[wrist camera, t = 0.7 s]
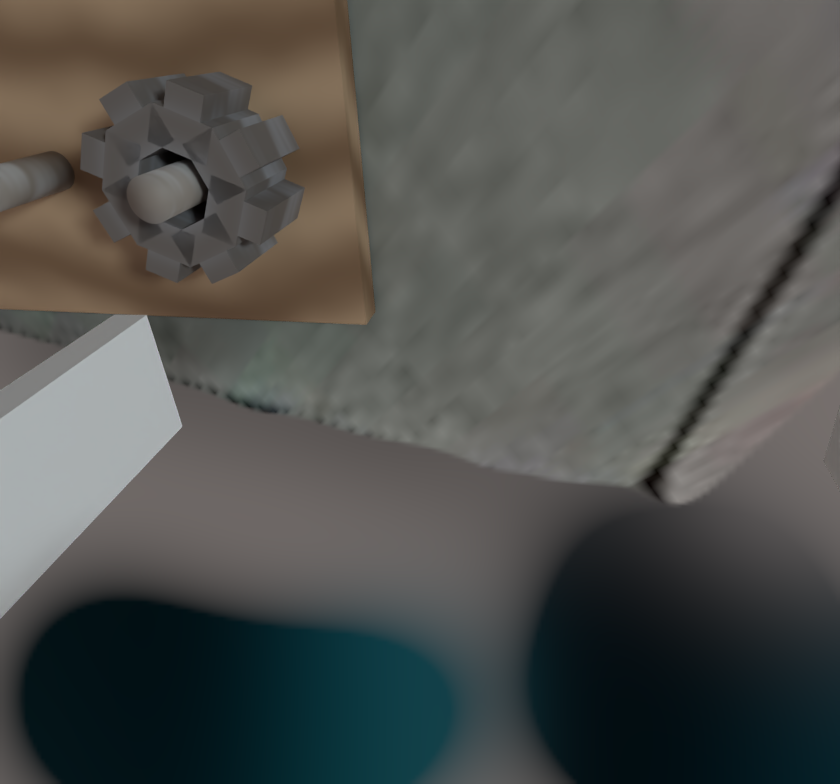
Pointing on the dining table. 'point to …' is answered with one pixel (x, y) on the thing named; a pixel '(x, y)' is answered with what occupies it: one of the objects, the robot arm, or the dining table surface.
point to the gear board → (160, 47)
